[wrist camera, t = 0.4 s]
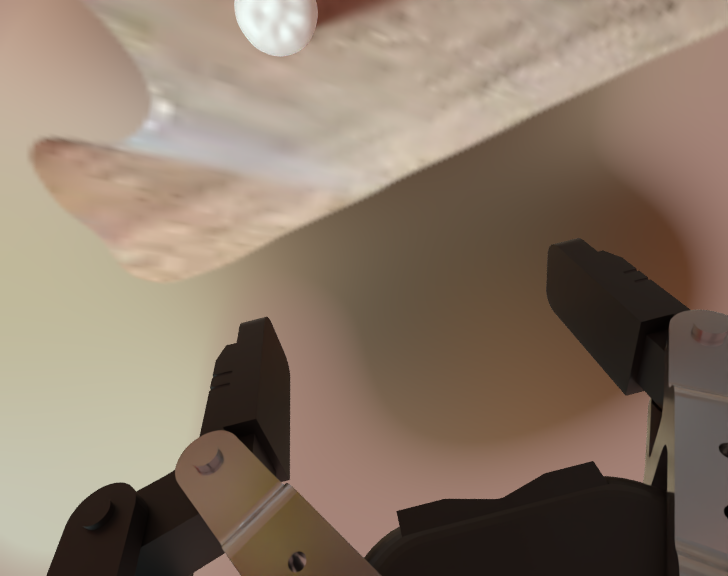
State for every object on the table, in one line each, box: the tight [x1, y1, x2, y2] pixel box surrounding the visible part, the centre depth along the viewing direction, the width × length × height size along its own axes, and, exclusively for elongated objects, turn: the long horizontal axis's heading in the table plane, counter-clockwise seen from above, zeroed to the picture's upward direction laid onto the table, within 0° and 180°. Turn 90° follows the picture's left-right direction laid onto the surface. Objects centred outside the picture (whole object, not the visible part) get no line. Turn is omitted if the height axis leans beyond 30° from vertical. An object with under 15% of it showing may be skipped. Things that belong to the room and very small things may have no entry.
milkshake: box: [235, 0, 318, 56], centre depth 26 cm, size 4×5×10 cm
